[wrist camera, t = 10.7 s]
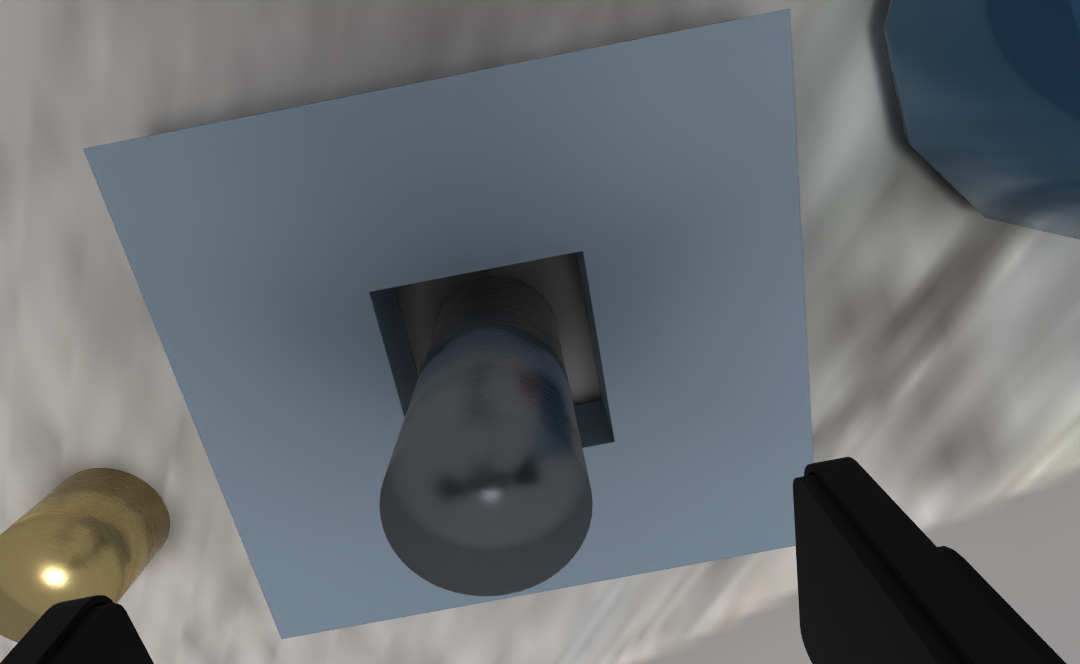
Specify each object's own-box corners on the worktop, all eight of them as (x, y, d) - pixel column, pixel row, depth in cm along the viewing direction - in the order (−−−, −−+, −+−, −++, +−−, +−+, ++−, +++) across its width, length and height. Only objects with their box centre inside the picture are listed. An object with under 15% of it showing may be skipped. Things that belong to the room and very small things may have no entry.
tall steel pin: (423, 289, 21) (353, 436, 12) (545, 266, 21) (574, 395, 12) (451, 399, 22) (409, 612, 13) (565, 378, 22) (606, 576, 13)
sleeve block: (146, 143, 19) (83, 148, 16) (747, 23, 19) (789, 8, 16) (308, 577, 24) (281, 638, 22) (781, 490, 24) (817, 541, 21)
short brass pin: (34, 479, 23) (-61, 553, 19) (145, 458, 23) (72, 528, 19) (81, 571, 24) (1, 657, 20) (186, 552, 24) (125, 635, 20)
